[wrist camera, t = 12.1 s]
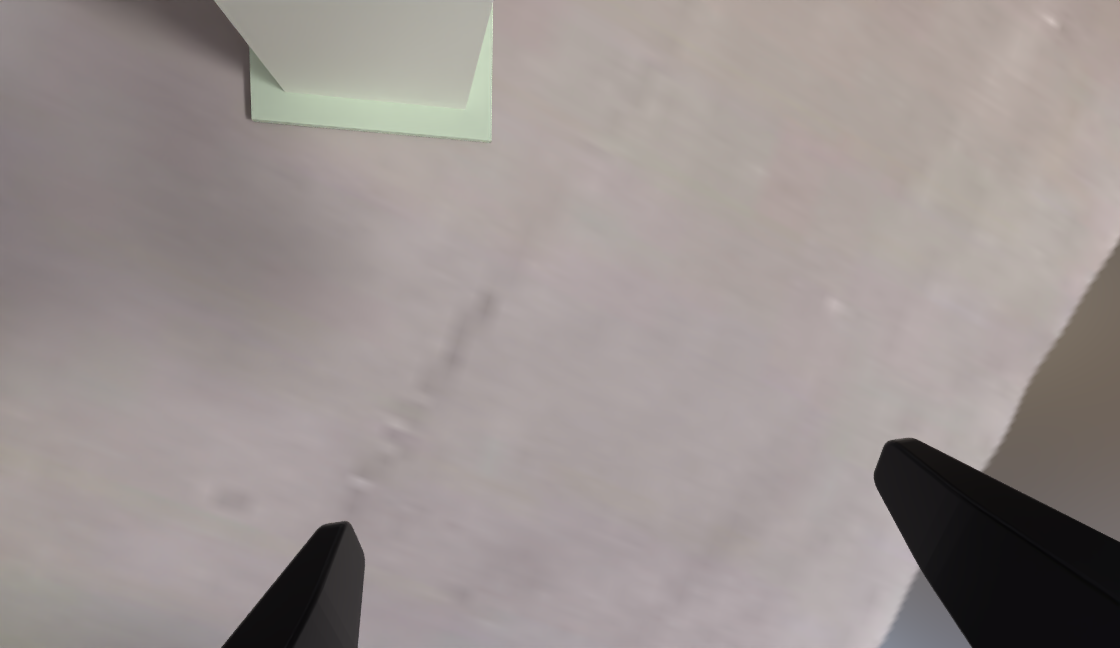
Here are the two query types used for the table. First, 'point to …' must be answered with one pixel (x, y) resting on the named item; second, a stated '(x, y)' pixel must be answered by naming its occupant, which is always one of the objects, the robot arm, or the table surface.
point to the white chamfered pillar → (367, 46)
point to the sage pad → (378, 106)
